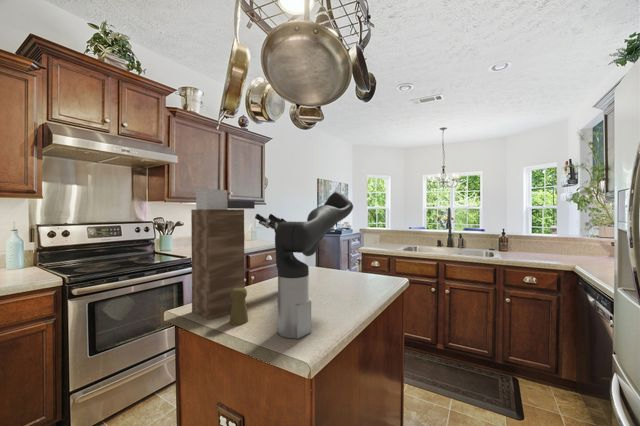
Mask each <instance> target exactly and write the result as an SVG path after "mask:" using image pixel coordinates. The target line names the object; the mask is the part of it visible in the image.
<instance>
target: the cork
mask: <svg viewBox="0 0 640 426" xmlns="http://www.w3.org/2000/svg"><path fill="white" fill-rule="evenodd" d="M247 295H248V290H247V288H245V287H244V288H234V289H233V290H232V291H231V298H232V299H233V300H232V307H231V313H230V316H229V324H230V325H233V326H241V325H245V324H247V323H248V322H249V315H248V309H247V308H248V307H247V301H246V297H247Z"/></svg>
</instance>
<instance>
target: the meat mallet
mask: <svg viewBox="0 0 640 426" xmlns="http://www.w3.org/2000/svg"><path fill="white" fill-rule="evenodd" d="M195 195H196V196H195V199H196V200H195V201H196V203H195V204H196V205H195V206H196V207H195V210H203V209H234V210H246V209H249V210H251V209H254V210H255V201H254V200H232V199H231V200H230V199H229V200H228V190H226V189H215V188H214V189H213V188H204V189H203V188H202V189H196V190H195Z"/></svg>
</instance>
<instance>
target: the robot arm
mask: <svg viewBox="0 0 640 426" xmlns="http://www.w3.org/2000/svg"><path fill="white" fill-rule="evenodd" d="M353 204H354V203H352V201H351V200H349V199H348V198H347V196H345V195H344V194H343V193H342V192H340V191H338V190H335V191H334V192H332V194H330V196H329V197H328V198H327V199H326V201H325V202H324V204H323V205H320V206H317V207H315V208H314V209H313V210H311V211H310V212H309V214H308V215H307V218H306V219H307V220H306V221H287V220H286V219H284V218H283V217H281V218H280V217H277V216H275V215H274V214H272V213H269V215H268V218H266V217H264V216H262V215H261V214H259V213H256V214H255V216H254V219H256V220H257V221H258V224H260V225H261V226H262V227H265V228H267V229H272V230H274V249H275V251H274V252H275V264H276V268H277V269H276V270H277V334H278V335H279V336H280V337H282V338H287V339H297V340H299V339H301V338H303V337H305V336H307V335H308V334H311V333H312V300H310V299H309V298H310V296H309V295H310V294H309V292H310V291H309V289H310V287H309V285H310V281H309V280H310V278H309V277H310V276H309V274H310V273H309V271H310V270H309V265H308V264H307V263H305V262H303V261H301V260H300V259H298V258H297V257H296V256H295V254H294V253H300V254H301V253H302V254H303V255H304V256H305V257H310V256H311V257H312V256H313V255H314V254H315V253H316V252H317V251H318V249H319V245H320V243H321V241H322V240H323V238H324V237H325V236H326V234H327V232H329V231H330V230H331V229H332V228H333V227H334V226H336V225H337V224H338V223H339V222H341V221H343V220H345V218H347V217H348V216H349V215H350V214H351V212H352V211H353V210H354V209H353V208H354V205H353Z"/></svg>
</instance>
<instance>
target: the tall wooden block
mask: <svg viewBox="0 0 640 426" xmlns="http://www.w3.org/2000/svg"><path fill="white" fill-rule="evenodd" d="M190 220H191V312H192V313H194V314H196V315H199V316H201V317H204V318H206V319H208V320H214V319H216V318H219V317H222V316H223V317H224V316H226V315H229V314H231V307H232V300H233V299H232V298H231V291H232V290H233V289H234V288H245V209H203V210H196V209H191V219H190Z"/></svg>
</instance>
